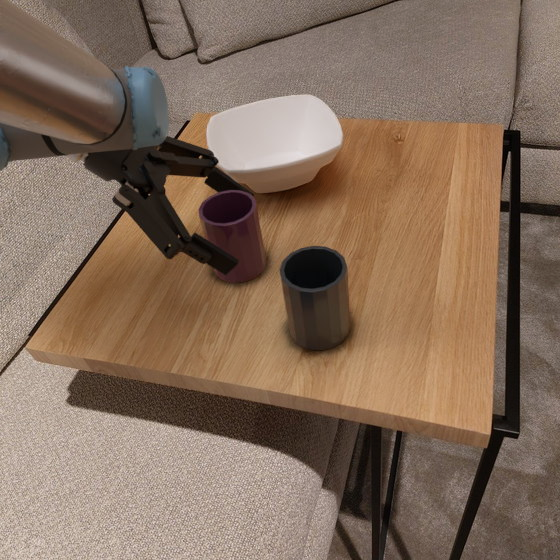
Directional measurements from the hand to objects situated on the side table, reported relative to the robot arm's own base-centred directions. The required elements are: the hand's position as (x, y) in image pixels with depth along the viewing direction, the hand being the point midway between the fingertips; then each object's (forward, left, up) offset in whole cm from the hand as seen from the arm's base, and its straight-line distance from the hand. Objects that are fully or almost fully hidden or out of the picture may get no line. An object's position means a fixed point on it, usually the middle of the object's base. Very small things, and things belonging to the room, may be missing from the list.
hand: (240, 232), depth 78 cm
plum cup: (-1, +1, -6) cm, 6 cm away
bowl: (+19, +9, -6) cm, 22 cm away
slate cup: (-5, -15, -6) cm, 17 cm away
